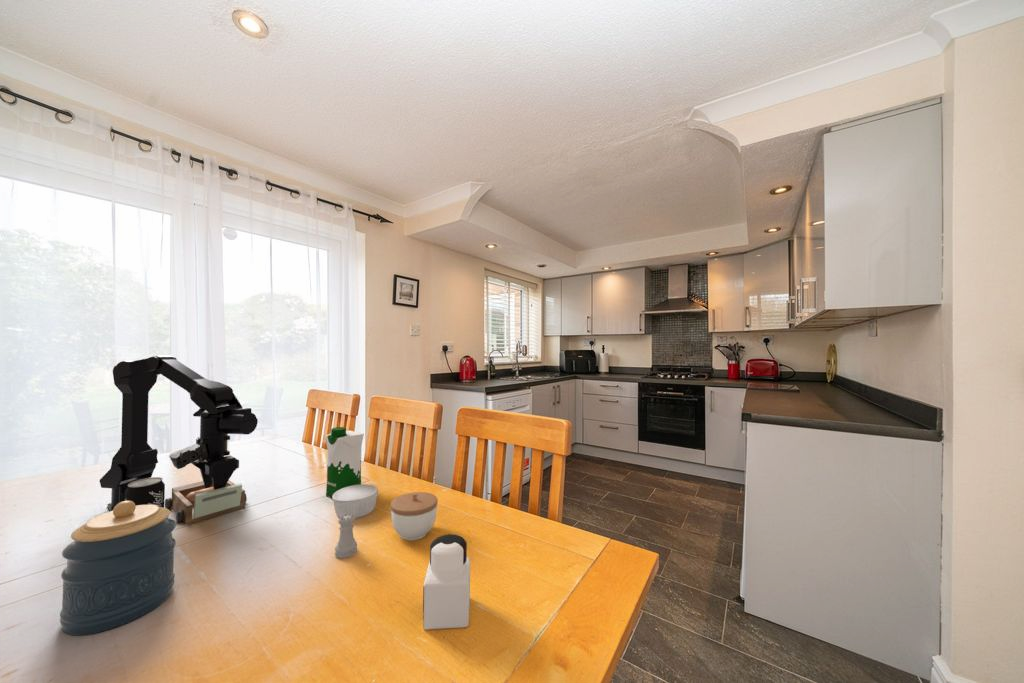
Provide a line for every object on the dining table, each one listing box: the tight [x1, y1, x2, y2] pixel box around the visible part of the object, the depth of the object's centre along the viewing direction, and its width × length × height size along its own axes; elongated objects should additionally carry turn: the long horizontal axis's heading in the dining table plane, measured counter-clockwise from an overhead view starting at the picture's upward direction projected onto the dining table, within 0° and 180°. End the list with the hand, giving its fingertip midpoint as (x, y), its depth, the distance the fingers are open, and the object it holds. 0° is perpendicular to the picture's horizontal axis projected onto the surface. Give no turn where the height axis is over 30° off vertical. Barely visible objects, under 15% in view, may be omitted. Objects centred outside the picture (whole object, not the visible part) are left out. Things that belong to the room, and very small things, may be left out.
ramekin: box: [331, 483, 379, 519], centre depth 96 cm, size 11×11×5 cm
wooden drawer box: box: [164, 479, 248, 525], centre depth 98 cm, size 18×14×4 cm
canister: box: [59, 501, 177, 636], centre depth 60 cm, size 13×13×18 cm
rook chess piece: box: [334, 513, 358, 560], centre depth 76 cm, size 4×4×8 cm
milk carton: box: [325, 426, 365, 498], centre depth 107 cm, size 9×9×20 cm
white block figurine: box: [422, 533, 471, 631], centre depth 60 cm, size 7×7×12 cm
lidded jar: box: [390, 491, 438, 541], centre depth 85 cm, size 11×11×9 cm
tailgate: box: [193, 482, 243, 518], centre depth 92 cm, size 1×9×6 cm, turn 143°
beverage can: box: [125, 476, 166, 508], centre depth 84 cm, size 7×7×12 cm
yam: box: [186, 487, 214, 504], centre depth 99 cm, size 3×8×3 cm, turn 144°
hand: (212, 491), depth 96 cm, fingers open, 8 cm apart
